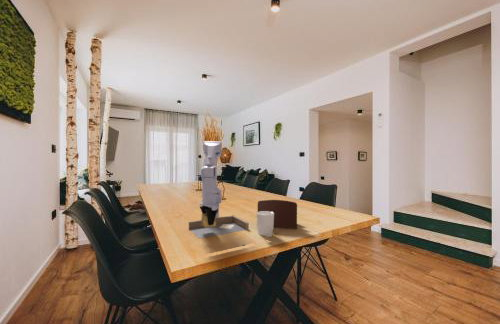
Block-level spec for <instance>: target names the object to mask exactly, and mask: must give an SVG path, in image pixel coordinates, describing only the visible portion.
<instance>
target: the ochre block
mask: <svg viewBox="0 0 500 324" xmlns="http://www.w3.org/2000/svg"><path fill="white" fill-rule="evenodd" d="M201 220H202V223H201V225H202V226H204V227H205V228H207V227H213V226H216V216H215V220H214V224H213V225H208V219H207V214H206V213H204V214H202V213H201Z"/></svg>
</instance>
